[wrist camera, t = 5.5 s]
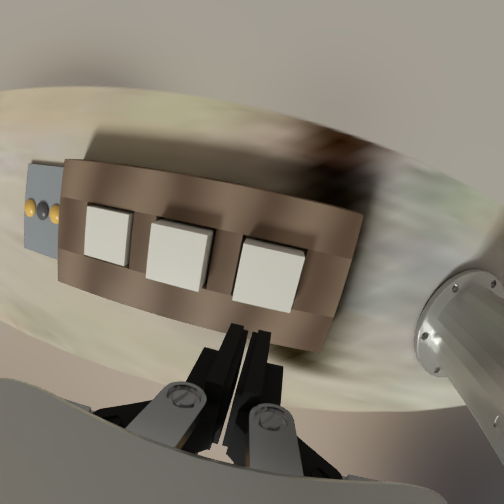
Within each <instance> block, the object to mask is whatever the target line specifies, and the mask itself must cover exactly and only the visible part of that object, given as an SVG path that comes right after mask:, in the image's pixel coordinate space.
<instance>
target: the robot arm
mask: <svg viewBox="0 0 504 504" xmlns="http://www.w3.org/2000/svg"><path fill="white" fill-rule="evenodd" d="M248 331H249V330H244V326H243V325H239V324H235V323H231V324H230V327H229V329H228V331H227V334H226V336H225V338H224V340H223V343H222V345H221V347H220V349H219V351H217V350H213V349H210V348H206V347H205V348H204V349H203V351H202V352H201V354H200V356H199V358H198V360H197V362H196V364H195V365H194V367H193V369H192V371H191V373H190V375H189V377H188V378H187V380H186V382H181V381H180V382H173V383H170V384H168V385H167V386H165V387H164V388H163V389H162V391H160V393H159V394H158V395H157V396H156V397H155V398H154V399H153V400H150V401H145V402H139V403H134V404H128V405H122V406H116V407H109V408H103V409H99V410H97V411H92V410H91V408H90V407H88V406H85V405H82V404H78V403H75V402H72V401H69V400H66V399H63V398H60V397H58V396H56V395H54V394H53V393H50V392H48V391H46V390H43V389H41V388H39V387H37V386H34V385H31V384H29V383H26V382H22V381H18V380H15V379H9V378H0V504H447V502H446V501H445V499H444V498H443V497H442V496H441V495H439V494H438V493H436V492H434V491H432V490H430V489H427V488H424V487H419V486H415V485H411V484H405V483H398V482H385V481H378V480H372V479H368V478H363V477H358V476H353V475H348V476H347V477H344V476H341V474H340V473H339V472H338V471H337V469H335V468H334V467H333V466H332V465H331V464H329V463H328V462H327V461H326V460H324V459H323V458H322V457H321V456H319V455H318V454H317V453H316V452H315V451H314V450H312V449H311V448H310V447H309V446H308V445H306V444H305V443H304V442H303V441H302V440H301V439H300V438H299V437H297V435H296V429H295V424H294V419H293V417H292V415H291V414H290V412H289V411H288V410H286V409H285V408H283V407H281V406H280V403H281V391H282V379H283V366H279V365H275V364H270V363H267V359H268V352H269V346H270V340H271V333H272V332H268V331H263V330H258V333H257V332H252V336H251V339H250V343H249V347H248V350H247V354H246V357H245V361H244V364H243V368H242V371H241V375H240V378H239V382H238V385H237V389H236V393H235V397H234V401H233V405H232V409H231V413H230V417H229V421H228V425H227V429H226V433H225V436H224V441H223V444H222V445H223V446H227V447H228V449H227V452H226V454H227V455H228V456H229V457H230V458H231V460H232V461H233V462H234V464H230V463H226V462H222V461H218V460H214V459H211V458H207V457H203V456H200V455H198V452H201V451H203V450H206V449H208V450H210V448H211V444H212V443H216V444H218V441H219V438H220V435H221V432H222V428H223V425H224V422H225V419H226V415H227V412H228V409H229V405H230V402H231V399H232V396H233V392H234V389H235V386H236V382H237V378H238V374H239V369H240V365H241V361H242V357H243V353H244V348H245V344H246V340H247V335H248ZM414 349H415V353H416V357H417V359H418V361H419V363H420V364H421V366H422V367H423V368H424V370H425V371H427V372H428V373H429V374H431V375H433V376H436V377H448V379H449V380H450V382H451V383H452V384H453V386H454V387H455V389H456V390H457V392H458V393H459V395H460V396H461V398H462V399H463V400H464V402H465V403H466V405H467V407H468V408H469V410H470V411H471V413H472V414H473V416H474V417H475V419H476V420H477V422H478V424H479V425H480V427H481V428H482V430H483V432H484V433H485V434H486V436H487V438H488V440H489V441H490V443H491V445H492V446H493V448H494V450H495V451H496V453H497V455H498V456H499V458H500V460H501V461H502V463H503V465H504V287H503V285H502V283H501V282H500V280H499V279H498V278H497V277H496V276H494V275H493V274H491V273H489V272H487V271H484V270H482V269H471V270H466V271H463V272H461V273H459V274H456V275H455V276H453V277H452V278H450V279H449V280H447V281H446V282H445V283H444V284H443V285H442V286H441V287H440V288H439V289H438V290H437V291H436V292H435V293H434V295H433V296H432V297H431V298H430V300H429V301H428V303H427V305H426V306H425V308H424V310H423V312H422V314H421V316H420V318H419V321H418V324H417V327H416V331H415V338H414Z"/></svg>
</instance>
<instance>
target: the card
mask: <svg viewBox="0 0 504 504" xmlns="http://www.w3.org/2000/svg"><path fill="white" fill-rule="evenodd" d="M63 169H64V167H58V166H49V165H40V164H28V173H27V183H26V196H25V215H24V248H27V249H29V250H32V251H35V252H38V253H40V254H43V255H46V256H49V257H52V258H55V259H57V260H58V224H59V207H60V195H61V185H62V177H63Z"/></svg>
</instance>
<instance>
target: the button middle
mask: <svg viewBox="0 0 504 504" xmlns="http://www.w3.org/2000/svg"><path fill="white" fill-rule="evenodd" d="M213 235H214V230H211V229H207V228H202V227H197V226H193V225H188V224H183V223H179V222H174V221H169V220H165V219H161V220H159V221H156V222H153V223H152V224H151V231H150V240H149V248H148V258H147V268H146V278H147V279H151V280H155V281H158V282H162V283H166V284H169V285H173V286H177V287H181V288H185V289H189V290H192V291H196V292H199V290H200V289H201V288H202V286H203V285H204V284H205V282H206V275H207V270H208V264H209V258H210V252H211V246H212V241H213Z"/></svg>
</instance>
